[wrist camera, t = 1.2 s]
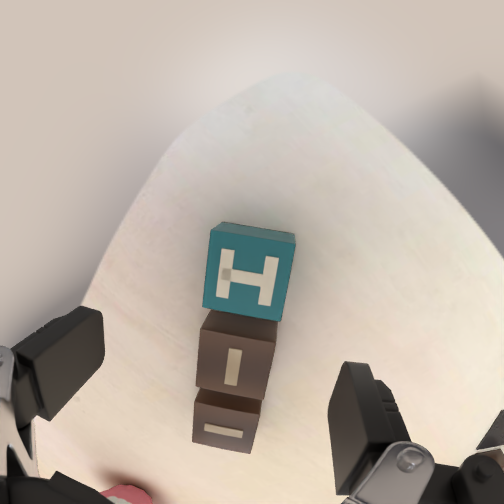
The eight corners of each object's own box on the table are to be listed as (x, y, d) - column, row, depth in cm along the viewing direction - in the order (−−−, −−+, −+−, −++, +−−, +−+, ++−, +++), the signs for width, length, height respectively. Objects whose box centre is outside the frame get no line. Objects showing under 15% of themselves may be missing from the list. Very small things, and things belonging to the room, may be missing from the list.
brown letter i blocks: (211, 308, 22) (199, 329, 19) (278, 320, 21) (276, 343, 18) (200, 418, 24) (191, 443, 21) (254, 429, 24) (250, 455, 21)
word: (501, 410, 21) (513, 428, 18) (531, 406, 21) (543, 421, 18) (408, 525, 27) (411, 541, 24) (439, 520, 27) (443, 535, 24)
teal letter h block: (221, 221, 20) (210, 230, 17) (294, 233, 20) (296, 244, 17) (213, 289, 21) (201, 308, 18) (281, 302, 21) (280, 322, 18)
